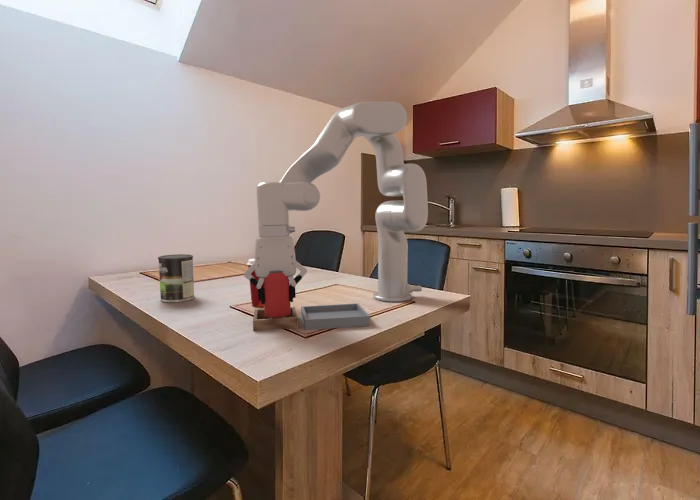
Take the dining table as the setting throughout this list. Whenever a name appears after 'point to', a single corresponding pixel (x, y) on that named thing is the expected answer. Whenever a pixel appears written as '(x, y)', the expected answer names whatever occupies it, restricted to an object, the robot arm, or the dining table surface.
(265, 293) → the beer can
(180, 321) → the dining table surface
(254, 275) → the paper cup
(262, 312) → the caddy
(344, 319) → the tray
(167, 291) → the coffee can
